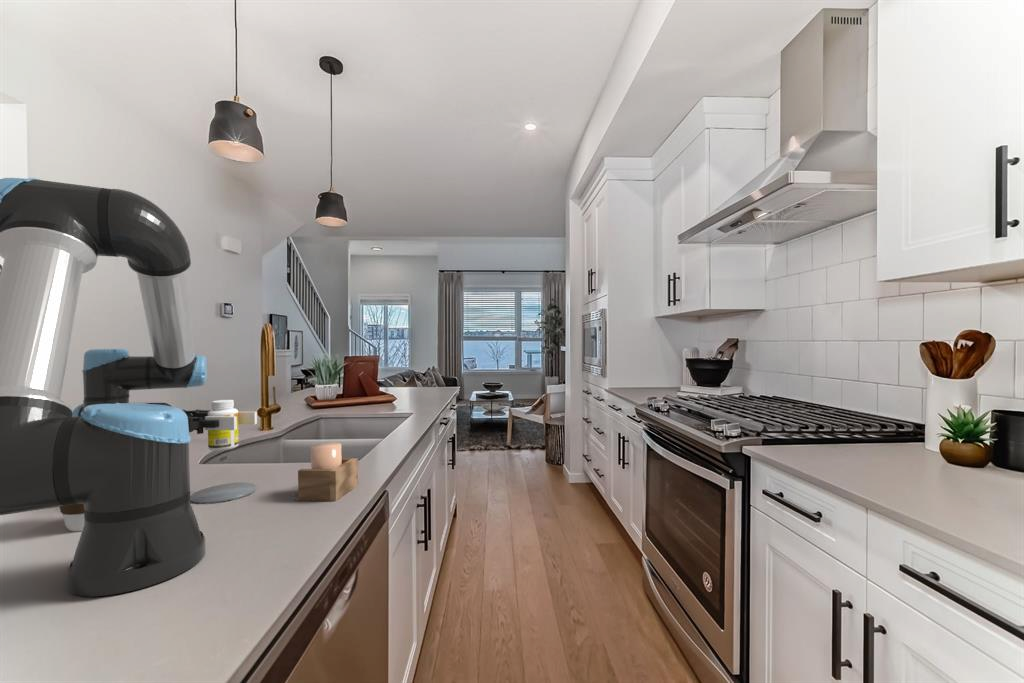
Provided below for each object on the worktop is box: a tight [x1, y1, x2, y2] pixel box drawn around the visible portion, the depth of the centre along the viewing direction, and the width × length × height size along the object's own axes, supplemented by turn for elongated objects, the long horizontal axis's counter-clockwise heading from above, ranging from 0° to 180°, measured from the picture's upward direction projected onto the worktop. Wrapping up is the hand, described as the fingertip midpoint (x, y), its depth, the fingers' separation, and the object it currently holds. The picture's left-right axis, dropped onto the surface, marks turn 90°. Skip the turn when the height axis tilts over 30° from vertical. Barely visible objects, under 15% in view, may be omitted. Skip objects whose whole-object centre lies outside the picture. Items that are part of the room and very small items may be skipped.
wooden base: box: [293, 457, 359, 502], centre depth 96 cm, size 10×9×6 cm
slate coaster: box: [190, 482, 258, 504], centre depth 96 cm, size 12×12×1 cm
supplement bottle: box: [207, 399, 240, 452], centre depth 97 cm, size 6×6×10 cm
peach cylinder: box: [310, 441, 343, 469], centre depth 96 cm, size 6×6×10 cm
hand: (245, 420), depth 96 cm, fingers closed on supplement bottle, 6 cm apart
